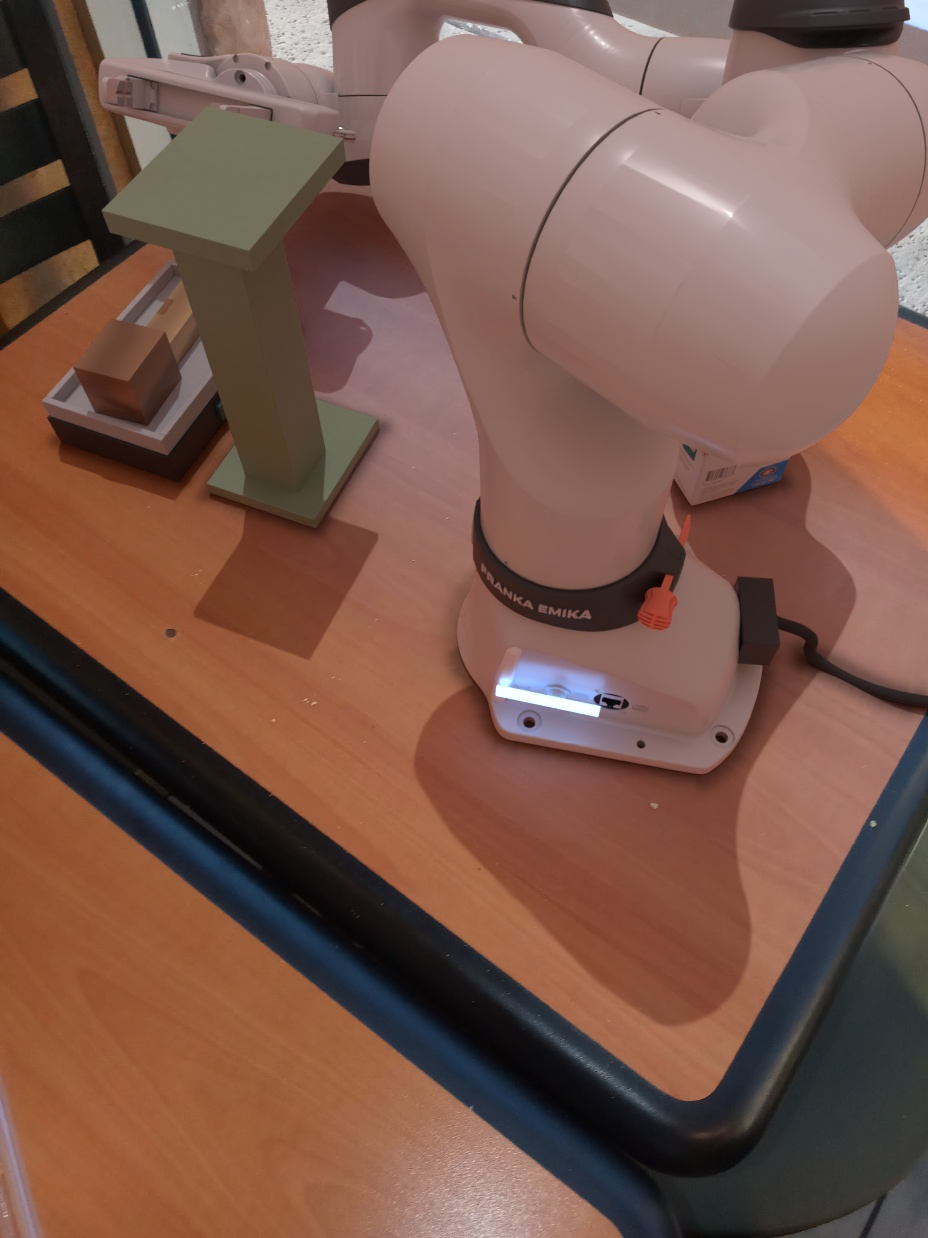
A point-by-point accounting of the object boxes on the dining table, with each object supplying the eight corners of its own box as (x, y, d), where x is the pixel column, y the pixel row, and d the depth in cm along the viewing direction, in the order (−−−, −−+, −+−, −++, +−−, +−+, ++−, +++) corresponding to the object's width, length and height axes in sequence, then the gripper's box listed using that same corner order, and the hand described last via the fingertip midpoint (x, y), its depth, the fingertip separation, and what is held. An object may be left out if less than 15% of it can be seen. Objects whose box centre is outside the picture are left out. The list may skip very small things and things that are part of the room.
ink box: (753, 441, 78) (806, 301, 66) (781, 483, 76) (842, 346, 63) (663, 466, 77) (699, 327, 64) (688, 509, 74) (732, 374, 62)
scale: (295, 332, 86) (286, 289, 82) (182, 483, 76) (166, 444, 72) (182, 299, 88) (168, 256, 84) (60, 441, 79) (37, 401, 75)
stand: (379, 427, 79) (343, 137, 57) (316, 529, 74) (248, 250, 52) (278, 396, 82) (206, 105, 59) (209, 492, 76) (101, 210, 54)
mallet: (239, 295, 83) (226, 248, 79) (147, 426, 75) (128, 381, 71) (190, 284, 84) (175, 237, 80) (94, 412, 76) (72, 366, 71)
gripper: (360, 178, 79) (280, 180, 68) (161, 128, 84) (53, 122, 72) (370, 96, 76) (287, 84, 65) (162, 49, 81) (49, 29, 69)
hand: (161, 104), depth 68 cm, fingers open, 8 cm apart
